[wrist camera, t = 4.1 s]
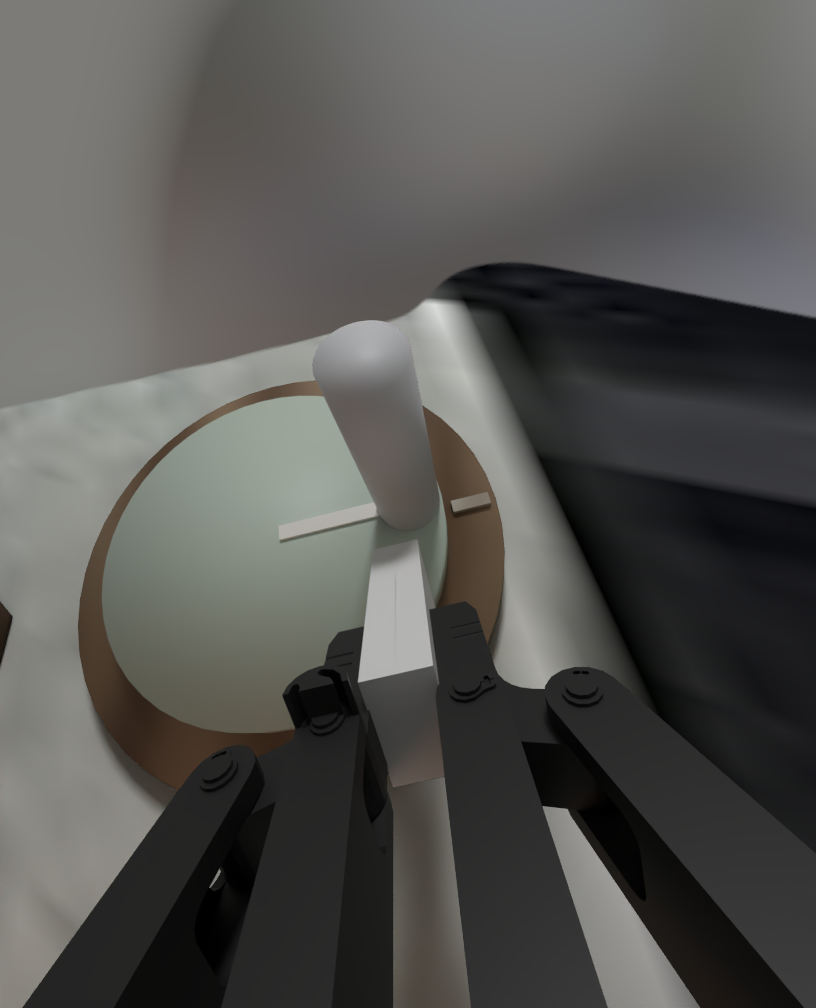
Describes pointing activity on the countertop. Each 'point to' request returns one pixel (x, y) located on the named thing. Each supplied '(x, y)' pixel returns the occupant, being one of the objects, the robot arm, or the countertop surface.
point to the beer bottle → (4, 627)
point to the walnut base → (184, 746)
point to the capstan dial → (273, 536)
